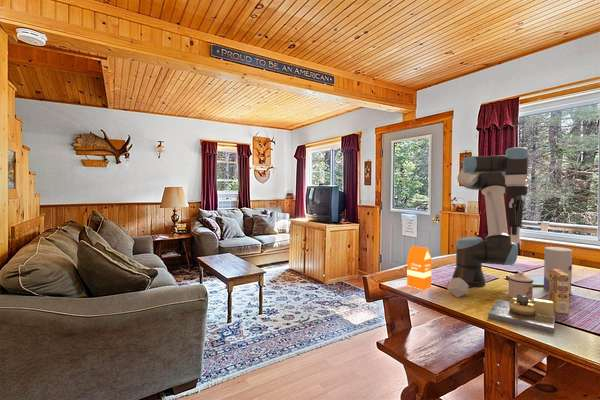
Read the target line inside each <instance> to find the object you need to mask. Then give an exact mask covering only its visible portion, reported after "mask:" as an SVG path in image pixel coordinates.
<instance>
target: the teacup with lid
mask: <svg viewBox="0 0 600 400" xmlns="http://www.w3.org/2000/svg"><path fill="white" fill-rule="evenodd" d="M507 278H508V297H509V298H510V299H512V298H516V299H517V295H518V294H521V295H526V296H528V297H529V300H530V301H533V291H534V289H533V285H534V284H533V283H534V279H533V278H532V277H530V276H527V275H526V274H524V272H523V271H518V272H517V273H515V274H511V275H508V277H507Z"/></svg>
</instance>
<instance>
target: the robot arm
mask: <svg viewBox="0 0 600 400" xmlns="http://www.w3.org/2000/svg"><path fill="white" fill-rule="evenodd" d="M528 166H529V151H528V148H527V147H525V146H524V147H523V146H521V147H520V146H517V147H510V148H507V149H506V150H505V155H504V154H501V155H478V156H475V155H473V156H472V155H470V156H465V157H464V158H462V169H461V171H459V173H458V174H457V182H458V184H460V186H462V187H463V188H465V189H469V190H476V191H477V190H480V191H481V194H482V195H484V199H485V200H484V201H485V202H484V203H485V210H486V211H485V212H486V221H487V223H486V224H487V232H488V233H487V236H486V237H485V238H484V239H485V240H484V239H483V238H482V237H479V236H467V237H466V236H465V237H461V238H459V239H457V240H456V245H455V250H456V253H455V254H456V255H455V256H456V258H455V268H454V272H453V274H452V277H451V279H453V278H458V277H459V278H461V279H462V280H464V281H465V282H466V283H467V284H468V285H469V286H468V287H473V288H474V287H476V288H479V287H481V288H482V287H484V286H485V285H486V278H485V276H484V275H485V274H484V272H483V268H482V265H483V264H485V265H496V266H497V265H501V266H513V265H514V264H515V263H516V262H517V258H518V254H519V243H520V237H521V235H520V233H521V232H520V231H521V228H522V227H523V225H522V224H523V214H524V207H525V206H524V205H525V202H524V199H523V198H522V196H527V195H528V185H527V184H528V180H529V179H530V177H529V176H528ZM504 194H505V195H504ZM505 196H509V199H508V202H506V204H505ZM506 208H507V214H506ZM507 217H508V221H507ZM508 227H510V234H509V230H508ZM520 227H521V228H520Z"/></svg>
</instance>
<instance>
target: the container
mask: <svg viewBox="0 0 600 400" xmlns="http://www.w3.org/2000/svg"><path fill="white" fill-rule="evenodd" d="M543 262H544V265H543V289H544V290H546V291H548V292H549V269H557V270H561V271H563V272H565V273H566V274H568V275H569V294H571V293H572V276H573V275H572V274H573V273H572V271H573V265H572V264H573V250H572V249H571V248H567V247H559V246H545V247H544V260H543Z"/></svg>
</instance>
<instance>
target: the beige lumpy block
mask: <svg viewBox="0 0 600 400" xmlns="http://www.w3.org/2000/svg"><path fill="white" fill-rule="evenodd" d="M532 301H533V302H532ZM532 301H530V300H529V301H528V304H527V305H521V304H520V303H519V302H517V299H516V298H511V300H509V302H510V310H511V311H512V312H515V313H517V314H521V315H535V314H538V315H545V316H551V317H553V310H554V309H553V306H554V303H553V302H552V301H549V299H547V300H546V299H540V298H539V299H538V298H532Z"/></svg>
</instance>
